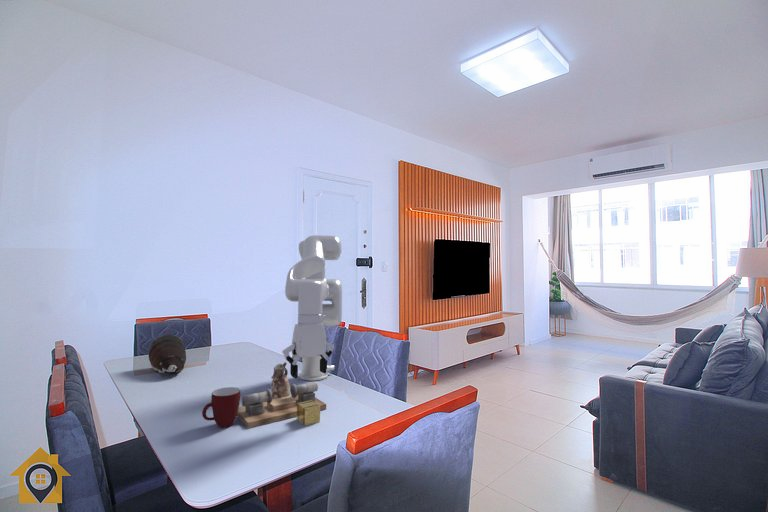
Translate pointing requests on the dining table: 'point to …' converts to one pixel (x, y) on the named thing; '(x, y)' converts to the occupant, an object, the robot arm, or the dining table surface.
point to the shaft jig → (275, 405)
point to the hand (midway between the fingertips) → (309, 374)
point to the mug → (224, 406)
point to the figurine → (280, 382)
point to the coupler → (308, 412)
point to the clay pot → (167, 354)
